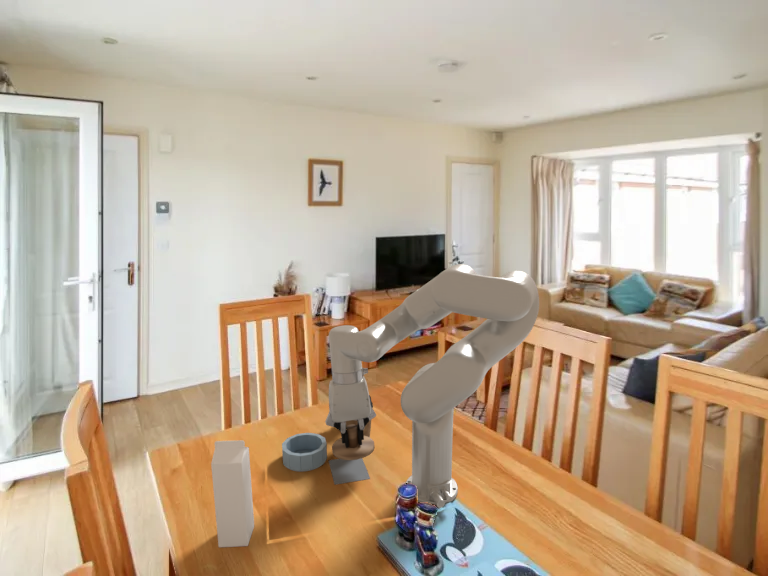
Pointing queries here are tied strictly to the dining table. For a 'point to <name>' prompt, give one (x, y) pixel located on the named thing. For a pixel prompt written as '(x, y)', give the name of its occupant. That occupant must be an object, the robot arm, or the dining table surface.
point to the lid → (353, 446)
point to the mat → (348, 470)
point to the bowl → (304, 451)
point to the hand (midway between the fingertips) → (353, 443)
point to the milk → (232, 493)
